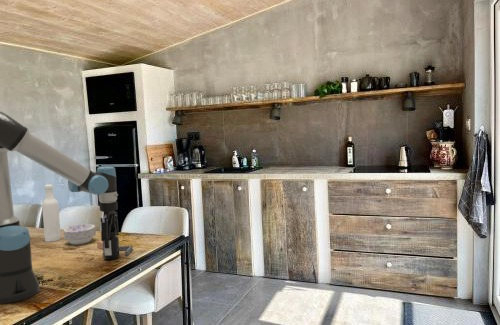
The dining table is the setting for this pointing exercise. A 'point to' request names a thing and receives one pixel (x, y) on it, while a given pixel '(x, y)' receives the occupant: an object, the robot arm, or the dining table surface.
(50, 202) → the bottle
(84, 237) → the paper bowls
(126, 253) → the holder
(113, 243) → the supplement bottle
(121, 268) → the dining table surface
